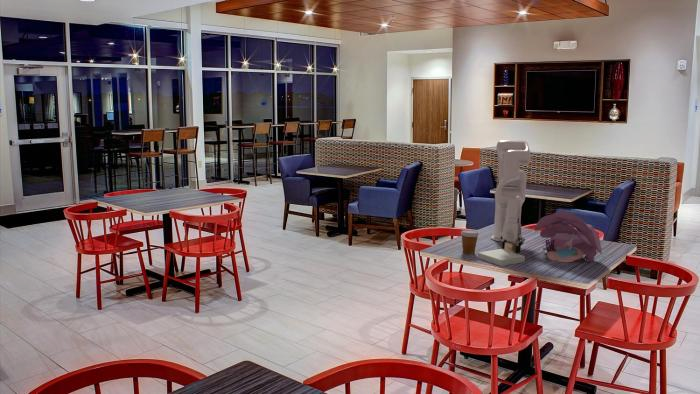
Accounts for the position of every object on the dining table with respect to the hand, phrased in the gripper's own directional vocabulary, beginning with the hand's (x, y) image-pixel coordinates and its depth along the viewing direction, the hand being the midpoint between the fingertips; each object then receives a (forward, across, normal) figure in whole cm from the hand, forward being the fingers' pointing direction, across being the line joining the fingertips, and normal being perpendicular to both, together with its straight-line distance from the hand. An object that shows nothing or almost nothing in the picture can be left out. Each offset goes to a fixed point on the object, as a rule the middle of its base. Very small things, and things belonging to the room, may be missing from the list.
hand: (511, 250), depth 341 cm
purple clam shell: (+2, +21, +20) cm, 29 cm away
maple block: (+2, 0, 0) cm, 2 cm away
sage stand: (+2, +7, -15) cm, 17 cm away
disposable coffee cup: (+2, -12, -20) cm, 23 cm away
